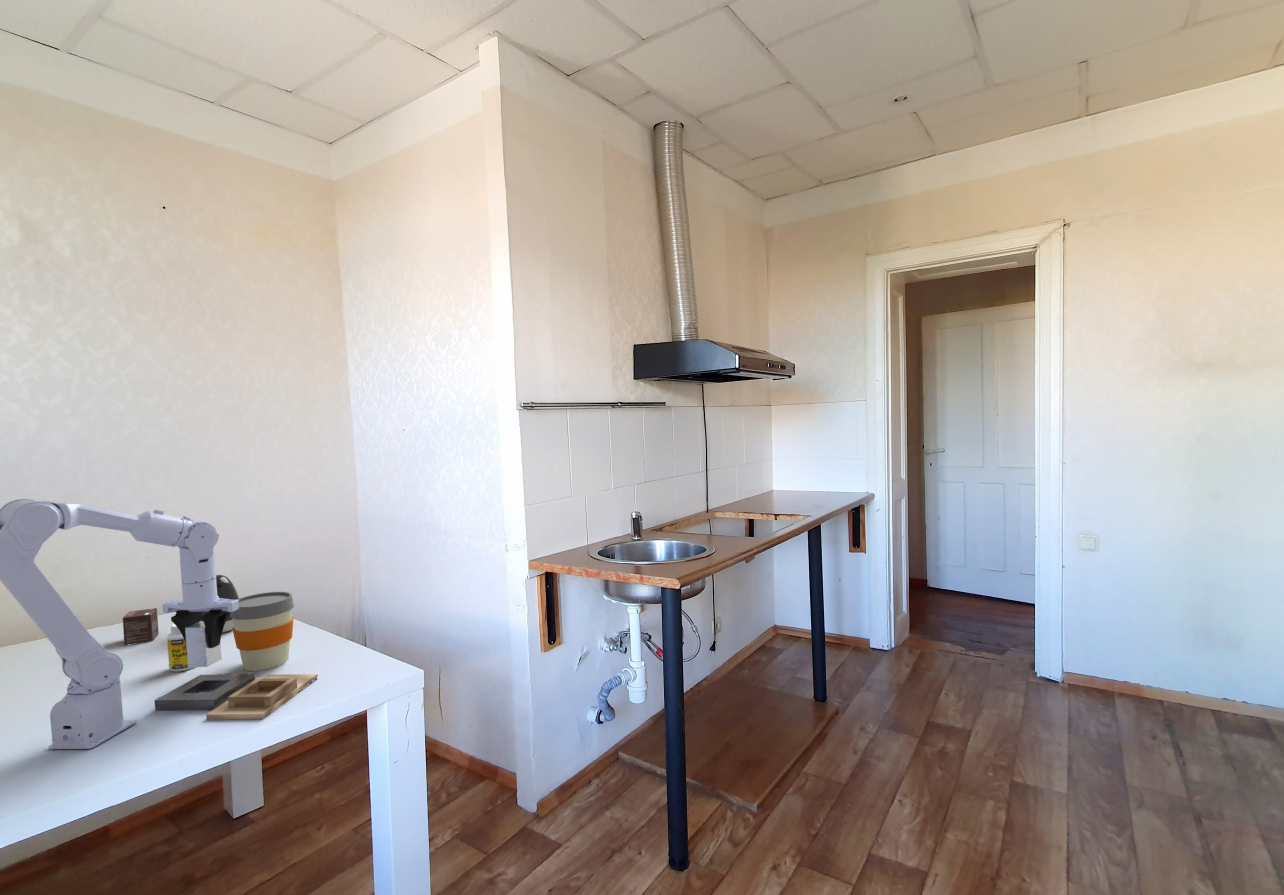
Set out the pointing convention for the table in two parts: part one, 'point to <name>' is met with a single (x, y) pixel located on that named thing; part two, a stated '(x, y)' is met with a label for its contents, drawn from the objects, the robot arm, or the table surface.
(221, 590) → the dark grey tall dome
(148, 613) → the box
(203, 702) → the socket
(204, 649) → the brushed metal block
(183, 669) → the supplement bottle
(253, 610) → the reusable coffee cup
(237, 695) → the rack board
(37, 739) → the table surface
